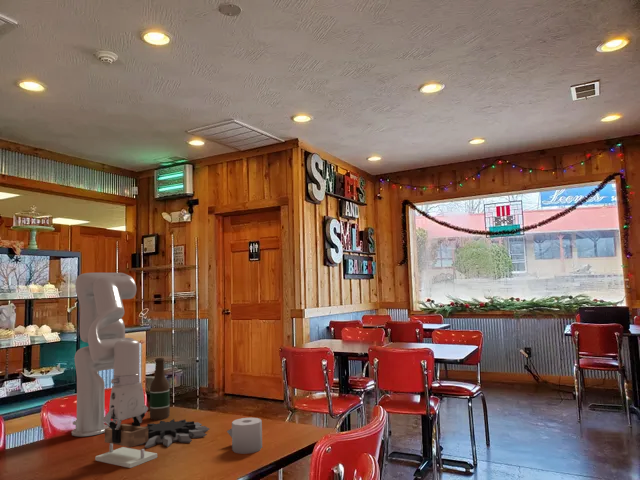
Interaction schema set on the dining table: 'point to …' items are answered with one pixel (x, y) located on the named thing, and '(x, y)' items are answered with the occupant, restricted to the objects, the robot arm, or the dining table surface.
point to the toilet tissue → (246, 435)
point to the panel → (126, 456)
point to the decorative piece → (174, 432)
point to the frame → (128, 435)
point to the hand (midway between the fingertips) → (126, 438)
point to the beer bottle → (159, 393)
